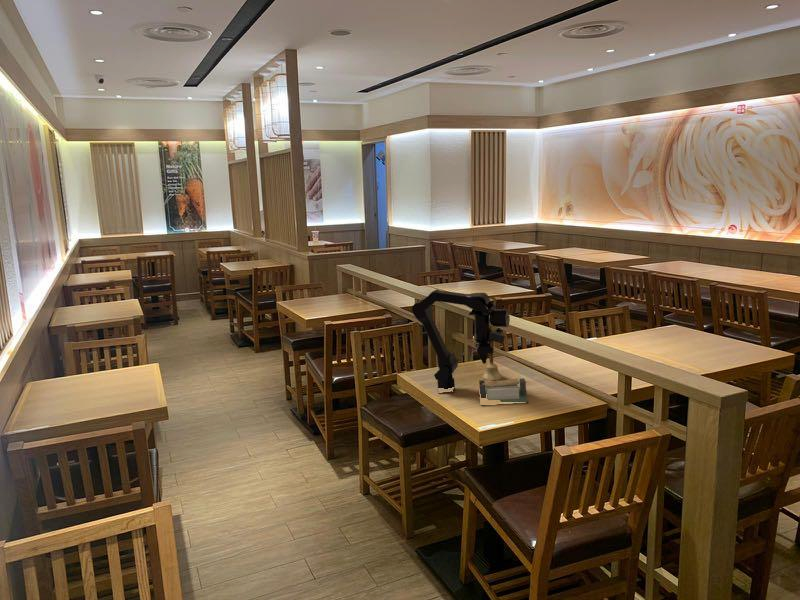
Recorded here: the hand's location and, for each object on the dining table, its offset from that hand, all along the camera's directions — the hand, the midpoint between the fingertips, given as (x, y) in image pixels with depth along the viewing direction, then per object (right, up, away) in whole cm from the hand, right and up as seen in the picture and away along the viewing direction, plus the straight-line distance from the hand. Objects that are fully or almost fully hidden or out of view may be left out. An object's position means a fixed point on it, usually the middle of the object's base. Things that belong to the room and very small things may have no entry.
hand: (484, 363), depth 234 cm
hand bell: (+6, -8, +19) cm, 22 cm away
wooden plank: (+6, -8, -2) cm, 10 cm away
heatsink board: (+7, -13, -1) cm, 15 cm away
